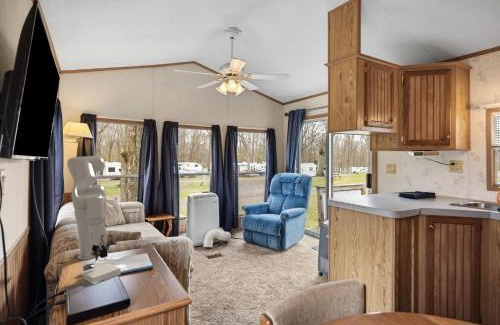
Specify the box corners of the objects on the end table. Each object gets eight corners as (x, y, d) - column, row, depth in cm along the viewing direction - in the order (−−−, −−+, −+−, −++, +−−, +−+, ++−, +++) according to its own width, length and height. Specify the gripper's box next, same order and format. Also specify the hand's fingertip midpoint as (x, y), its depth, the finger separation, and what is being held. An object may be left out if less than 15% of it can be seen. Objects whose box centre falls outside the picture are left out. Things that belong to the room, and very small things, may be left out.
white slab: (82, 277, 146) (82, 272, 146) (109, 268, 156) (108, 263, 156) (93, 284, 138) (93, 278, 138) (120, 274, 148) (120, 268, 148)
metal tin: (82, 273, 152) (81, 266, 152) (92, 270, 156) (91, 263, 155) (86, 276, 148) (85, 268, 148) (96, 272, 152) (95, 264, 152)
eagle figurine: (107, 258, 144) (113, 248, 153) (97, 247, 142) (104, 239, 151) (95, 267, 144) (102, 257, 153) (84, 257, 143) (92, 247, 151)
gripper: (81, 220, 149) (84, 255, 149) (96, 224, 137) (99, 261, 138) (97, 217, 154) (100, 250, 155) (112, 220, 143) (115, 256, 144)
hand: (100, 255), depth 146 cm, fingers closed on eagle figurine, 8 cm apart
